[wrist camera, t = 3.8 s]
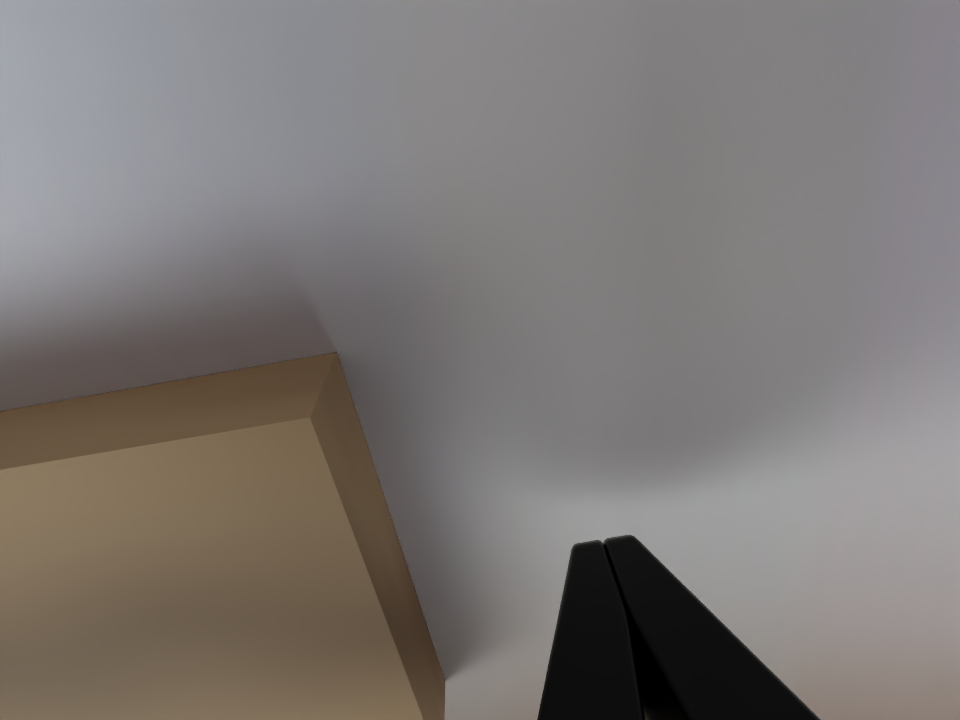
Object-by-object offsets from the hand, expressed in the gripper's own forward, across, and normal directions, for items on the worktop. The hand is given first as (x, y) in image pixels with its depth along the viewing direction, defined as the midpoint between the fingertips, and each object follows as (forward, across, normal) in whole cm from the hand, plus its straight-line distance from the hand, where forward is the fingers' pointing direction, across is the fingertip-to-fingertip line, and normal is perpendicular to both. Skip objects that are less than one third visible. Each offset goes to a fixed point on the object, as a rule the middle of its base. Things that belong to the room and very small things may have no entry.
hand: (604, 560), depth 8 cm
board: (+2, +8, 0) cm, 8 cm away
